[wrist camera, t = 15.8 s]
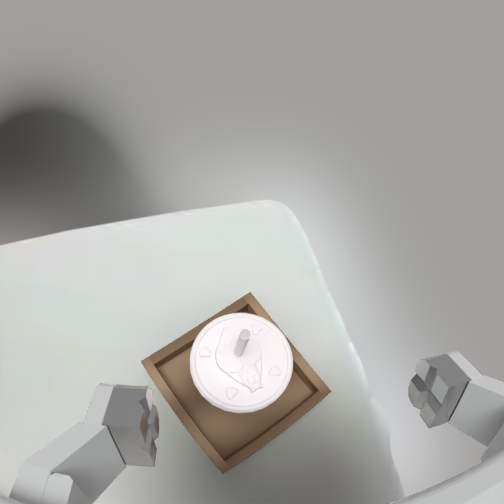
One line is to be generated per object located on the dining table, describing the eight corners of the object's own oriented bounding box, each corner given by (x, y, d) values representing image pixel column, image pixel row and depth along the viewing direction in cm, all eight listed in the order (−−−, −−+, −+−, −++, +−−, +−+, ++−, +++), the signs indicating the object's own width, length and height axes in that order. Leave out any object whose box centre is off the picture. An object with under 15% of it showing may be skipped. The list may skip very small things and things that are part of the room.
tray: (322, 394, 28) (331, 391, 26) (221, 469, 23) (222, 473, 21) (247, 301, 32) (250, 292, 29) (146, 366, 27) (140, 361, 25)
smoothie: (247, 335, 29) (275, 264, 17) (280, 395, 27) (338, 370, 15) (183, 363, 27) (162, 312, 15) (216, 427, 25) (220, 433, 13)
